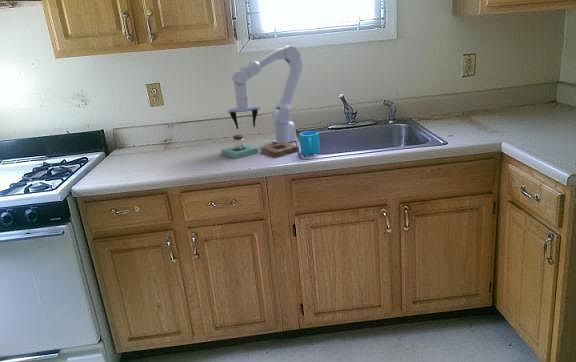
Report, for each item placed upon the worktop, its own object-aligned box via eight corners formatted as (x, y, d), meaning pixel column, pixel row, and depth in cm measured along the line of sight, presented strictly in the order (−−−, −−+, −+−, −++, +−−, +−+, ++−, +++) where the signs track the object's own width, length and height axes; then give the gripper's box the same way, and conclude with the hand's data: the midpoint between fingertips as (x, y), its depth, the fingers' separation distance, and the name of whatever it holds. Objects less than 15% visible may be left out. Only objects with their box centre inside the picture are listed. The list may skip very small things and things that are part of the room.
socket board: (244, 148, 210) (244, 143, 209) (258, 152, 200) (257, 148, 199) (221, 153, 203) (221, 149, 203) (234, 158, 194) (233, 154, 193)
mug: (301, 150, 198) (299, 131, 195) (319, 148, 197) (318, 130, 195) (301, 157, 186) (299, 138, 184) (320, 156, 186) (319, 137, 183)
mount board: (283, 146, 206) (282, 142, 206) (298, 150, 197) (298, 146, 196) (261, 152, 200) (260, 147, 199) (276, 157, 190) (275, 152, 190)
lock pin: (241, 151, 205) (239, 134, 202) (247, 152, 201) (245, 135, 198) (233, 153, 202) (230, 136, 199) (238, 155, 199) (236, 137, 196)
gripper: (225, 100, 199) (229, 130, 203) (258, 97, 200) (261, 127, 204) (226, 98, 205) (230, 127, 210) (257, 95, 206) (261, 124, 211)
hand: (245, 127), depth 208 cm, fingers open, 7 cm apart
